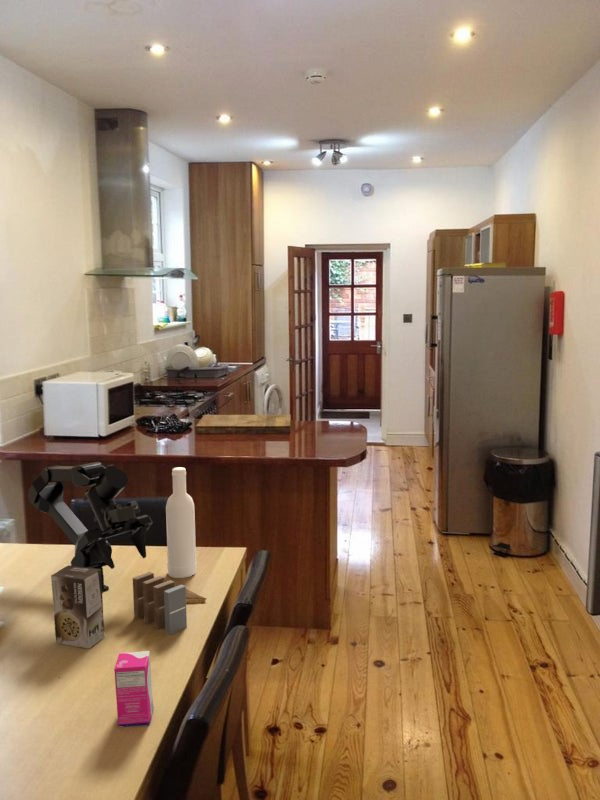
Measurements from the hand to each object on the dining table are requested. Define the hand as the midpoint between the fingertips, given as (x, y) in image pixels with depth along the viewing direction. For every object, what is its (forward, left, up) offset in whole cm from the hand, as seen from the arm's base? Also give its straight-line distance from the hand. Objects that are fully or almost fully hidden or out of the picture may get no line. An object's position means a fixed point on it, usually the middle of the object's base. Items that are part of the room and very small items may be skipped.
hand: (129, 562), depth 173 cm
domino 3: (+14, 0, -12) cm, 18 cm away
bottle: (-8, +23, -12) cm, 27 cm away
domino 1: (+6, 0, -12) cm, 13 cm away
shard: (+5, +13, -13) cm, 19 cm away
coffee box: (+5, -17, -12) cm, 22 cm away
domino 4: (+18, 0, -12) cm, 21 cm away
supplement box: (+40, -27, -12) cm, 49 cm away
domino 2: (+10, 0, -12) cm, 15 cm away
